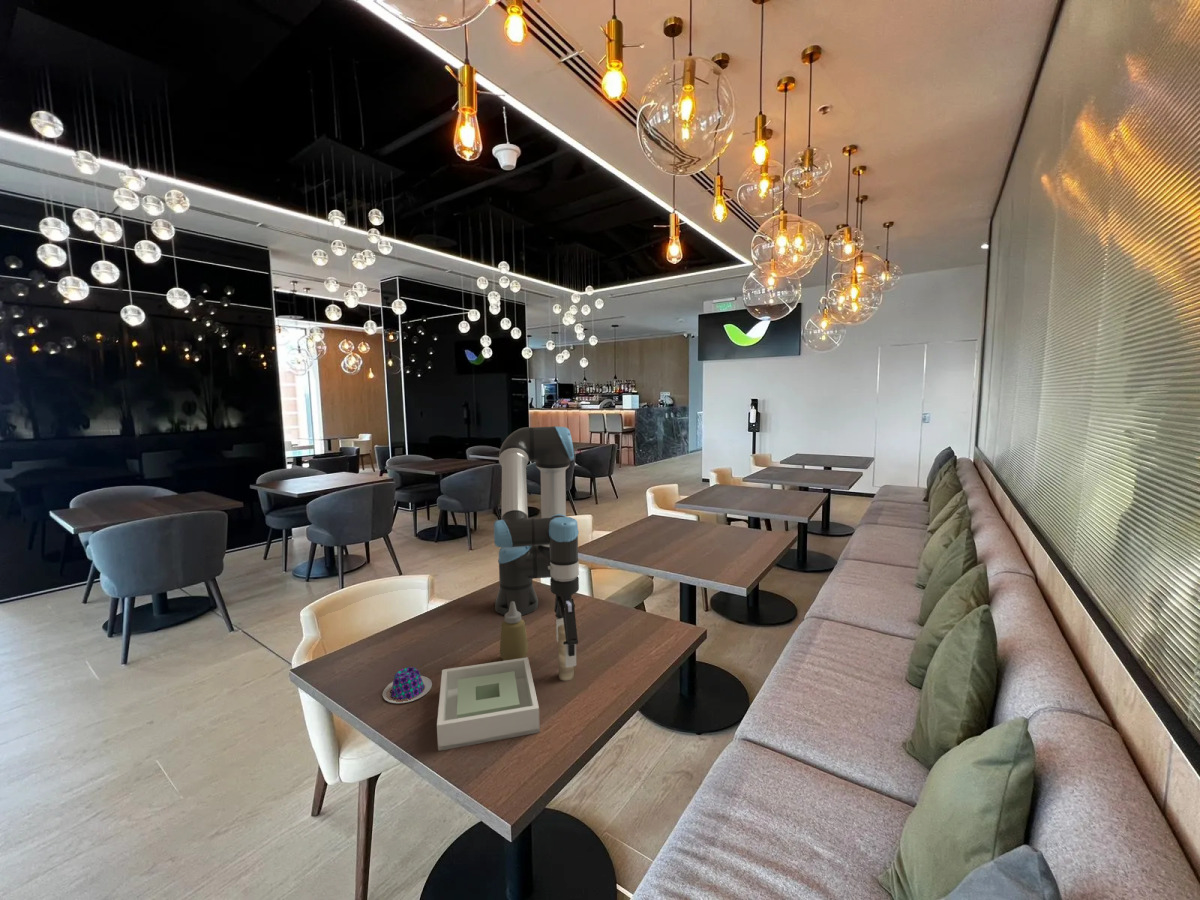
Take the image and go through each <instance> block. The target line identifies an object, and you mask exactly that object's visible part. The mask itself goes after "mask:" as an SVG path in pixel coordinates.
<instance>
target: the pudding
mask: <svg viewBox="0 0 1200 900" xmlns="http://www.w3.org/2000/svg"><path fill="white" fill-rule="evenodd" d="M432 685H433V683H432V680H431V679H430V678H429V677H427V676H424V675H421V673H420V671H419V669H418V668H416V667H413V666H412V667H410V666H408V667H405V668H401V669H399V670H398V671H397V672H396V673H395V674H394V676H393V680H392V682H390V683H388V685H386V686H385V688H384V689H383V691H382V697H383V699H384V700H385V701H387V702H388V703H391V704H405V703H410V702H413V701H416V700H418V699H421V698H422V697H424V696H425V695H427V694H428V692H430V690H431V689H432ZM391 687H392V691H391V692H392V693H391V695H392V696H391V697H397V698H396V700H397V699H400V700H401V699H404V700H406V699H405V698H408V699H407V700H408V701H403V702H396V701H393V700H389V699H388V698H387V697H386V696H387V695H386V692H387V691H388V690H389V688H391ZM413 697H414V698H413ZM410 698H411V700H409V699H410ZM412 698H413V699H412Z"/></svg>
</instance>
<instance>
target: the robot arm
mask: <svg viewBox="0 0 1200 900" xmlns="http://www.w3.org/2000/svg"><path fill="white" fill-rule="evenodd" d="M573 444H574V443H573V439H572V435H571V431H570V429H569V428H568V427H567V426H534V427H531V426H530V427H529V426H528V427H527V426H526V427H521V428H518V429H517V430H515V431H513V432H511V433H510V434H509V435H508V436H507V437H506V438H505V439H504V441H503V443H502V444H501V446H500V449H499V453H498V463H499V465H500V466H501V519H500V520H499V519H498V520H495V521H494V523H493V541H494V545H495V547H497V548H499V551H498V559H497V562H498V577H499V578H498V580H499V587H498V592H497V596H496V599H495V602H494V603H495V604H494V607H495V612H496V613H498V614H500V615H501V616H505V614H506V613H507V612H509V607H510V602H512V601H514V602H515V606H516V609H517V611H518V612H520V613H521V616H525V615H528V614H531V613H533V612H535V611H536V610H537V609H538V607H539V600H538V596H537V593H536V590H535V588H534V584H533V580H534V579H547V578H548V579H549V578H550V579H549V581H550V582H549V583H550V588H549V589H550V592H551V594H554V595H555V599H554V600H555V601H554V609H553V610H554V614H555V617H556V618H555V633H556V634H555V635H556V636H555V638H556V642H557V643H558V627H559V626H560V625H563V624H564V629H565V637H566V641H564V642H563V644H564V645H565V666H566V667H572V666H574V667H576V666H577V645H578V644H579V640H578V629H577V621H576V620H577V619H576V612H575V606H576V604H575V602H574V598H572V595H574V594H576V593H578V592H579V590H580V589H579V588H580V586H579V585H580V581H579V580H580V577H579V575H580V571H579V565H580V561H579V532H580V531H579V527H578V520H577V519H575V518H573V517H570V516H569V517H568V516H567V501H566V500H567V497H566V495H567V494H566V493H567V492H566V491H567V490H566V489H567V488H566V470H567V469H569V467H570V464H571V463H570V462H571V461H574V460H575V452H574V445H573ZM529 462H535V467H536V468H537V469H538V470H539V471H540V501H541V502H540V503H541V504H540V506H541V508H540V509H541V510H540V511H541V513H540V514H541V518H538V517H537V518H529V510H528V488H527V487H528V486H527V465H528V463H529Z"/></svg>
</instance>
